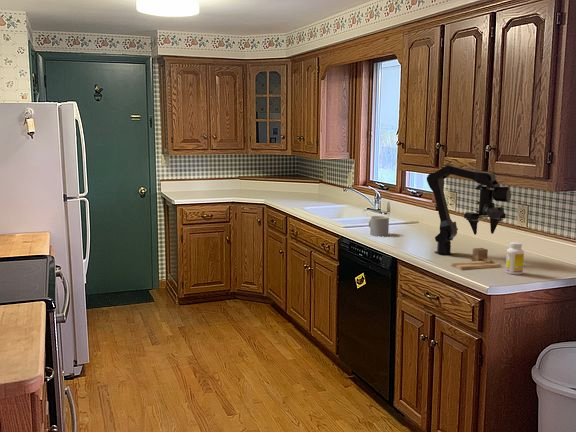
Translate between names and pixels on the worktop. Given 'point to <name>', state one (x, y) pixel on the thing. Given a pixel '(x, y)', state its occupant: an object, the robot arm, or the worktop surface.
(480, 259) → the brown block with bar
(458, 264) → the plank
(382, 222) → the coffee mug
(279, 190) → the worktop surface
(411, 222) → the worktop surface
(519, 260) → the supplement bottle
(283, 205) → the worktop surface
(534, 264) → the worktop surface
